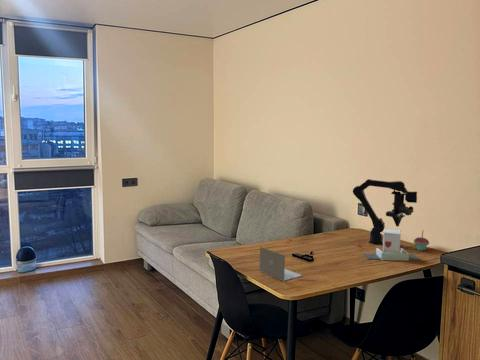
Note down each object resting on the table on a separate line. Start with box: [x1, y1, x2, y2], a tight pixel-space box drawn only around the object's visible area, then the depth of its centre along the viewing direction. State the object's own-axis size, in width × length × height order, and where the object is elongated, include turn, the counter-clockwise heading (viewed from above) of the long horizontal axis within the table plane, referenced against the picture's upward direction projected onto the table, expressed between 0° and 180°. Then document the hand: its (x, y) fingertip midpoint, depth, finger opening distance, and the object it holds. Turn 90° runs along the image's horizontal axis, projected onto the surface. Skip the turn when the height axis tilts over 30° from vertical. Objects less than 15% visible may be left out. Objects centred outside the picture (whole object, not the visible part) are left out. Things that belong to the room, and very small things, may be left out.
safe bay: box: [363, 247, 422, 262], centre depth 245 cm, size 10×29×4 cm, turn 89°
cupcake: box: [413, 230, 430, 251], centre depth 263 cm, size 9×8×12 cm
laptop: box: [258, 246, 303, 282], centre depth 215 cm, size 18×12×13 cm
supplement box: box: [382, 228, 402, 253], centre depth 245 cm, size 9×9×15 cm
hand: (397, 226), depth 270 cm, fingers closed
